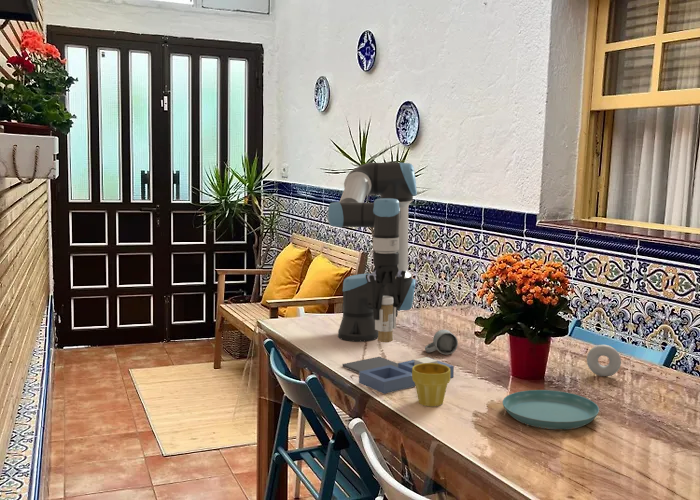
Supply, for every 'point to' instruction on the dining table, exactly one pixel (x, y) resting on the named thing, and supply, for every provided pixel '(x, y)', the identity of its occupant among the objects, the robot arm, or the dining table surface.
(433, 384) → the plant pot
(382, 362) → the mat
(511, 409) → the saucer
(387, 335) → the sprinkles bottle
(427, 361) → the cream block
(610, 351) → the donut
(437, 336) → the ceramic mug
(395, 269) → the robot arm
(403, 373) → the dish
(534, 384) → the dining table surface
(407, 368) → the dish
